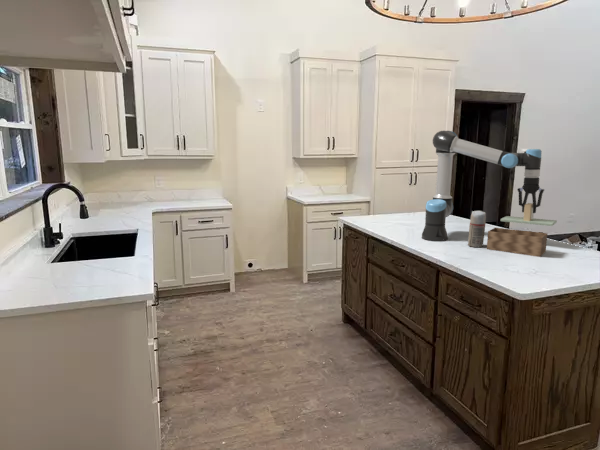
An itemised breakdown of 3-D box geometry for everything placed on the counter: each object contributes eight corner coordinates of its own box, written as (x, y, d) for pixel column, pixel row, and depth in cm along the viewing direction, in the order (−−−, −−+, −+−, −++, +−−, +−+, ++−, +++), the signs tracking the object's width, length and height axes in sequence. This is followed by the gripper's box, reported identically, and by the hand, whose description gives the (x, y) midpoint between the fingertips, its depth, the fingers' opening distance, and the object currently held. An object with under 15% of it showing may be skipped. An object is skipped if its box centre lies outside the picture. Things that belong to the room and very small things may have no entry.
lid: (500, 221, 239) (501, 203, 237) (506, 217, 248) (507, 201, 246) (551, 226, 222) (553, 207, 220) (556, 222, 231) (558, 204, 229)
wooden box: (486, 249, 226) (488, 231, 224) (493, 244, 235) (495, 227, 233) (540, 256, 209) (542, 237, 207) (545, 251, 218) (547, 233, 216)
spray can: (484, 245, 234) (487, 210, 230) (482, 248, 227) (485, 212, 223) (468, 243, 238) (471, 209, 235) (466, 246, 232) (468, 211, 228)
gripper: (514, 177, 233) (511, 217, 237) (546, 178, 222) (542, 220, 227) (517, 176, 238) (514, 216, 243) (549, 177, 228) (545, 218, 232)
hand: (528, 218), depth 235 cm, fingers closed on lid, 3 cm apart
